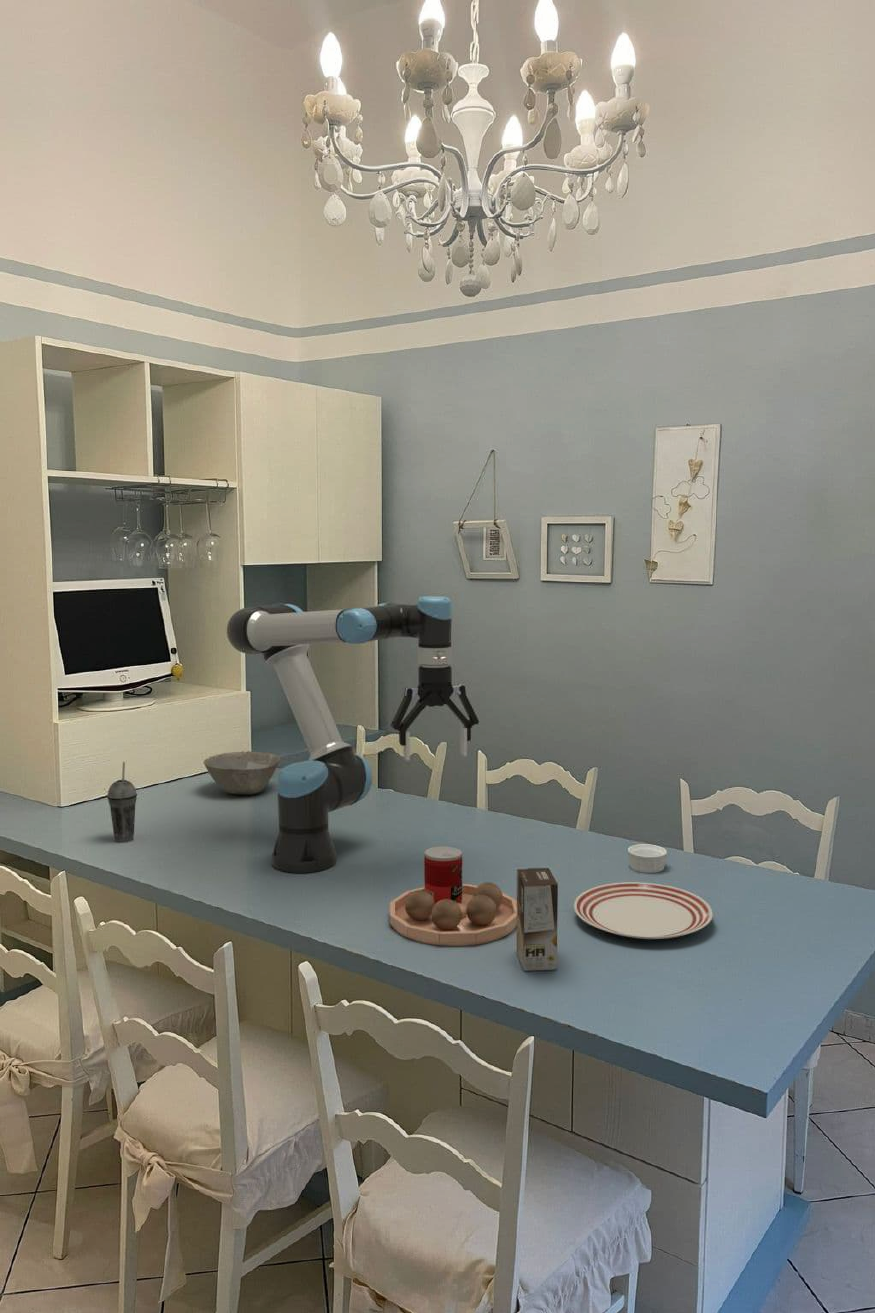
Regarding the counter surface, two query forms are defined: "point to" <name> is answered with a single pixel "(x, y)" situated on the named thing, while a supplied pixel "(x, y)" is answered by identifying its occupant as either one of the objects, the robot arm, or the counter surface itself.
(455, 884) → the canned food
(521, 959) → the coffee box
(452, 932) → the tray
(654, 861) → the ramekin
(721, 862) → the counter surface
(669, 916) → the dinner plate
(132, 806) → the beverage cup
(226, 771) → the ceramic bowl
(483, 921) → the seated beads
